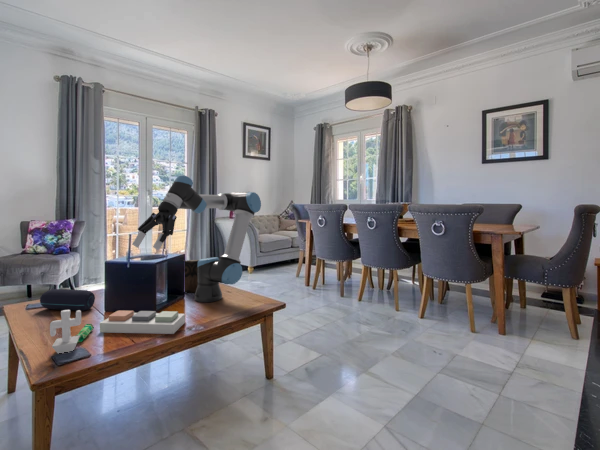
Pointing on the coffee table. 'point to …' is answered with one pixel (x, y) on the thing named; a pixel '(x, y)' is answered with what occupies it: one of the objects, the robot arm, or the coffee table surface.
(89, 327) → the candy
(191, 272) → the owl
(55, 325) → the figurine
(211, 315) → the coffee table surface
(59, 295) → the portable speaker
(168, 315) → the sage key
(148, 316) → the charcoal key
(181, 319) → the keypad
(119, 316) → the terracotta key
